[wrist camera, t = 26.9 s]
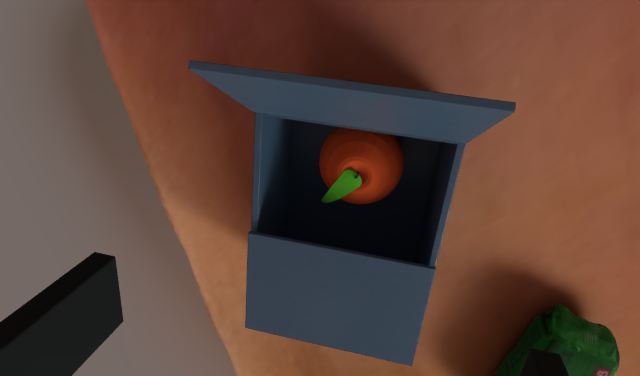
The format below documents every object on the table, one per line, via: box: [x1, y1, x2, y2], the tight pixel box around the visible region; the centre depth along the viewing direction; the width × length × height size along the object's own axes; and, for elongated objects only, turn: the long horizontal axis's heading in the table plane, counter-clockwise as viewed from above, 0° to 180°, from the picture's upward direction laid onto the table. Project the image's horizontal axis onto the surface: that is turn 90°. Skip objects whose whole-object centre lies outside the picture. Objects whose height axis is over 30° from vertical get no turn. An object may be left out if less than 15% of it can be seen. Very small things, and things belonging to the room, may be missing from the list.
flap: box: [188, 60, 516, 143], centre depth 22 cm, size 9×14×1 cm
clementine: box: [319, 127, 404, 204], centre depth 34 cm, size 8×7×7 cm
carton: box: [245, 112, 466, 366], centre depth 34 cm, size 19×14×10 cm
